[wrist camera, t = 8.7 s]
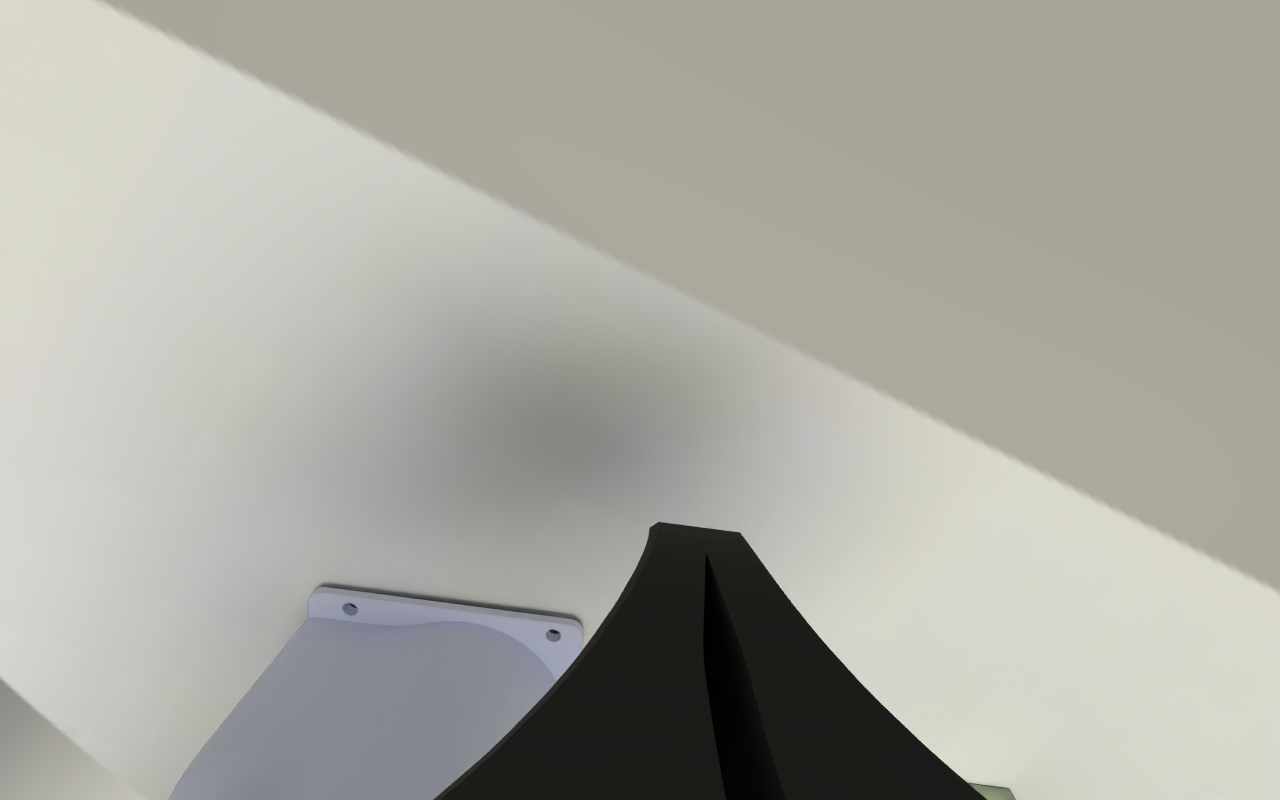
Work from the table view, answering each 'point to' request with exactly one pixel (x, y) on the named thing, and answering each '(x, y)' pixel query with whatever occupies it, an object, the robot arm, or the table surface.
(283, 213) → the table surface
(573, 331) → the table surface
